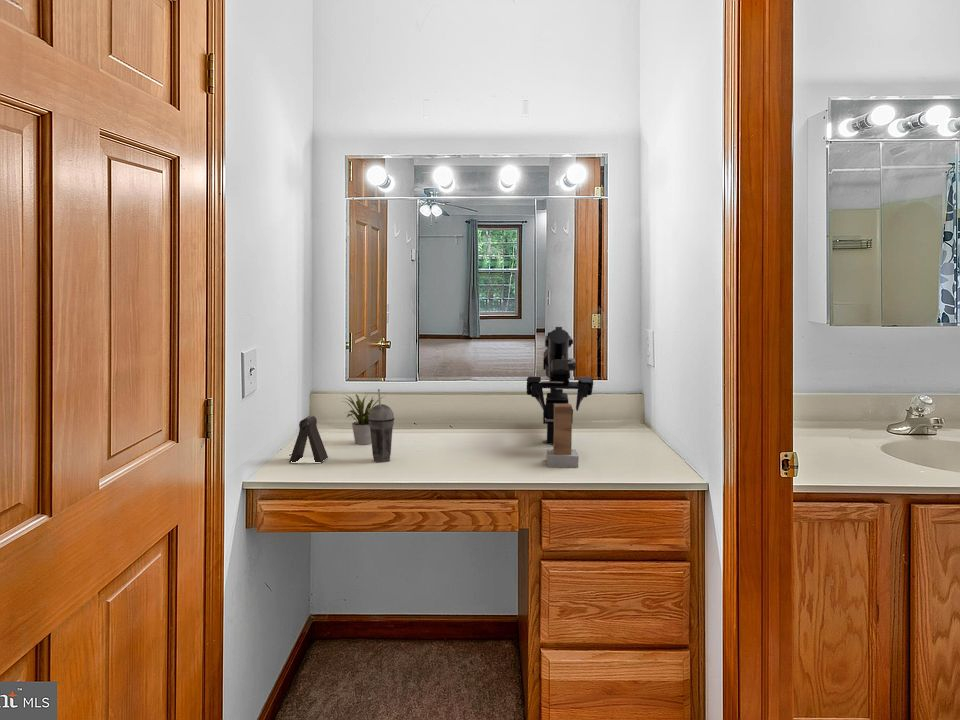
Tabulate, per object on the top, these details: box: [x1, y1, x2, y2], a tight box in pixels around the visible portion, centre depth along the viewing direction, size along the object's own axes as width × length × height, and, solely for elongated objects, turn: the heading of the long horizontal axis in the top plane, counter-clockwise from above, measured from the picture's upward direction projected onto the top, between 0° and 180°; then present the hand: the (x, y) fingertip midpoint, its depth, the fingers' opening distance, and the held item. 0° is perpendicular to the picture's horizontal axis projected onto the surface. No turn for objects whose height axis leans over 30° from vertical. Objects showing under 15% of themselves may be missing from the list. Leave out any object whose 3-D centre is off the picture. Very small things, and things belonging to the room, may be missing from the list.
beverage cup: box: [368, 388, 395, 463], centre depth 186 cm, size 7×7×20 cm
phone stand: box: [288, 415, 329, 463], centre depth 186 cm, size 9×6×12 cm, turn 86°
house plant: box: [341, 391, 385, 446], centre depth 208 cm, size 14×14×16 cm
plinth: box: [545, 448, 580, 468], centre depth 183 cm, size 8×8×3 cm
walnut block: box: [552, 403, 573, 455], centre depth 182 cm, size 4×4×13 cm
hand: (560, 409), depth 189 cm, fingers open, 9 cm apart
